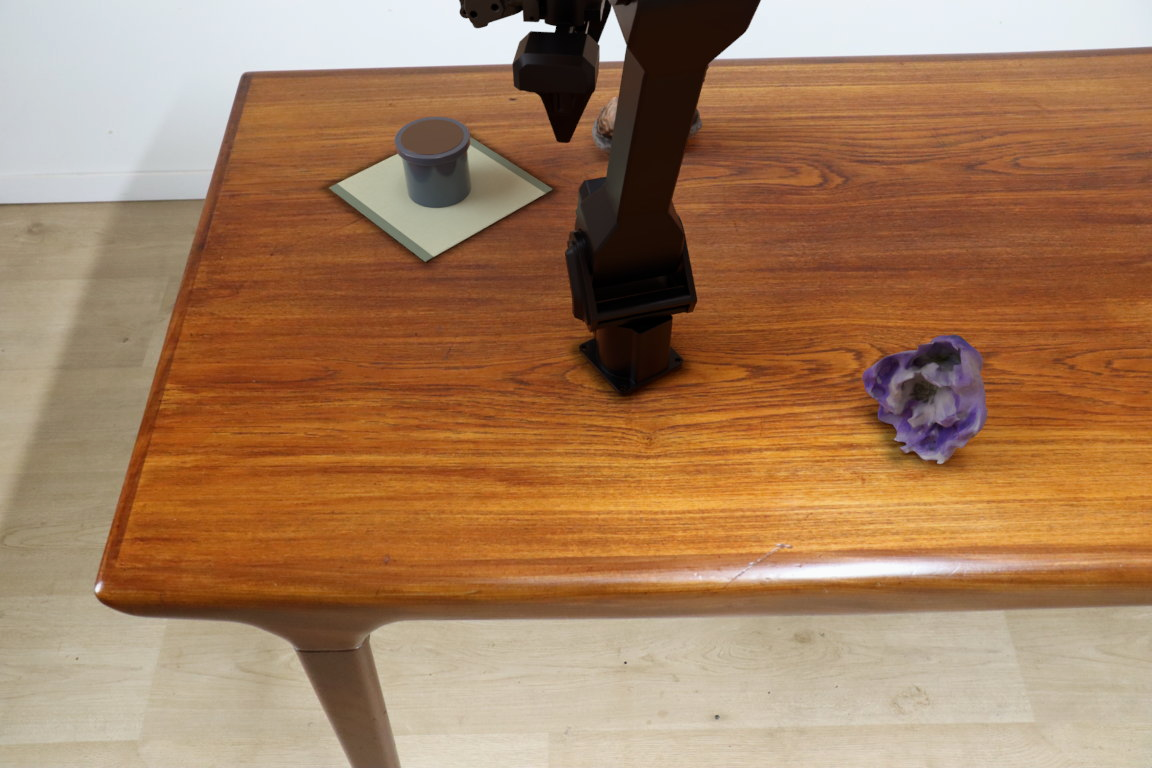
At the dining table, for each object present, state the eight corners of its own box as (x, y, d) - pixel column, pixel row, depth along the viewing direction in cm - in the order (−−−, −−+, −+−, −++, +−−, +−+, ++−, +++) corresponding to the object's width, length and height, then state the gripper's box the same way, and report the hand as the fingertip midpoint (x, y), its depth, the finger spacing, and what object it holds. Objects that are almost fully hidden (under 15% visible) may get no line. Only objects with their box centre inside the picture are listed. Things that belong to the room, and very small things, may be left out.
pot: (488, 194, 94) (483, 141, 90) (423, 219, 92) (415, 166, 87) (454, 160, 98) (447, 108, 94) (391, 183, 96) (381, 131, 91)
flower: (938, 290, 74) (926, 321, 66) (1022, 366, 73) (1021, 407, 65) (854, 368, 79) (833, 406, 70) (932, 440, 78) (919, 488, 69)
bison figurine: (602, 170, 97) (603, 81, 90) (582, 134, 102) (582, 45, 94) (711, 150, 99) (721, 61, 92) (687, 115, 104) (695, 28, 96)
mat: (552, 189, 95) (552, 189, 95) (425, 262, 88) (425, 261, 88) (453, 126, 103) (453, 126, 103) (328, 188, 96) (328, 187, 96)
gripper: (483, -123, 78) (497, 54, 89) (434, -22, 65) (457, 169, 77) (618, -119, 77) (614, 59, 88) (594, -15, 64) (594, 177, 76)
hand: (570, 111), depth 83 cm, fingers open, 9 cm apart
